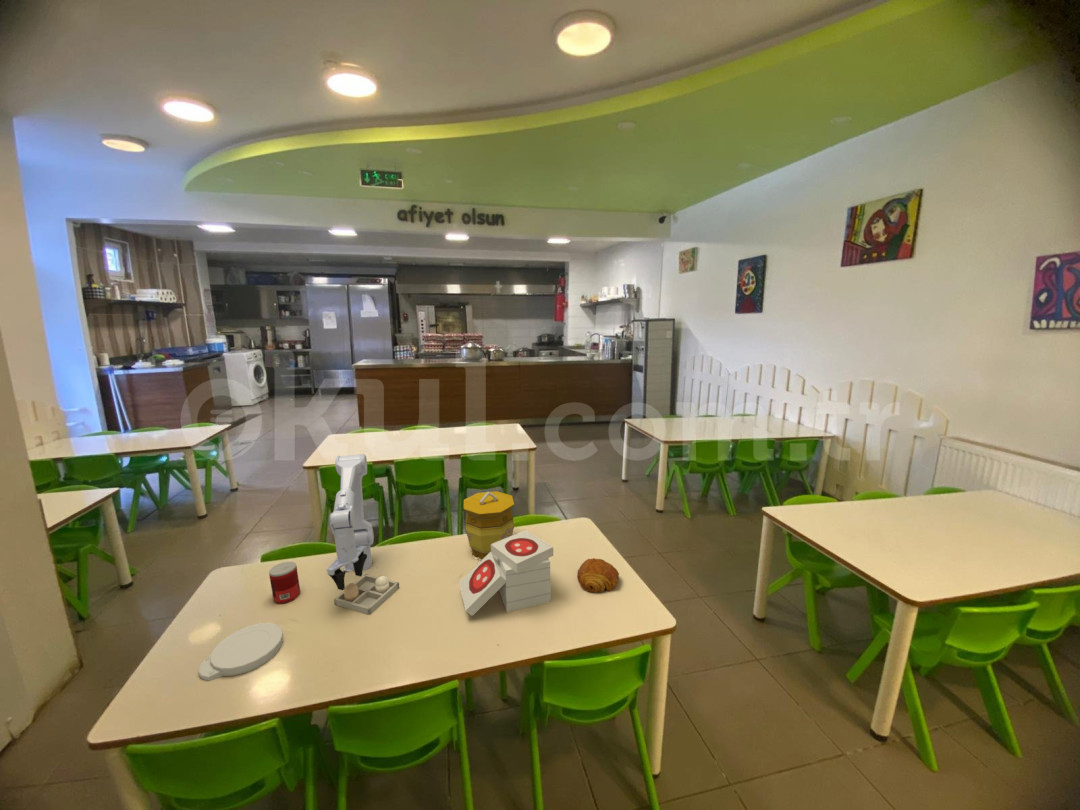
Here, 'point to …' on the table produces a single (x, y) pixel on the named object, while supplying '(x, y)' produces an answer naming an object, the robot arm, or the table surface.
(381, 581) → the cream egg
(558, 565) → the table surface
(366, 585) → the egg carton
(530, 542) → the stacked pizza boxes
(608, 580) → the croissant
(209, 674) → the lid
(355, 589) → the brown egg
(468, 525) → the container
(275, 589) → the canned food
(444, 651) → the table surface
